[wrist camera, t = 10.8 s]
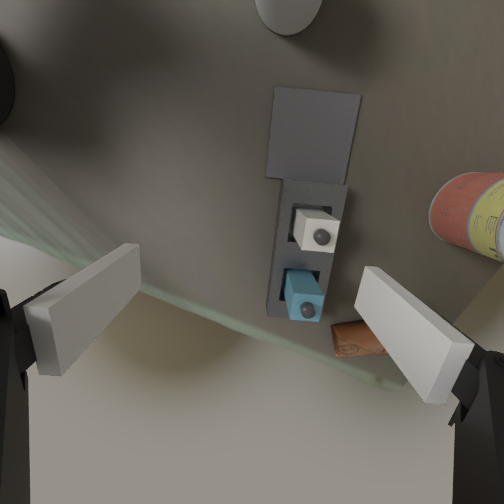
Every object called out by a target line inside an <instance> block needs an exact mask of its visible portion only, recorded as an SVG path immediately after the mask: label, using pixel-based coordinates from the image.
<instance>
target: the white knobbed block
mask: <svg viewBox="0 0 504 504" xmlns="http://www.w3.org/2000/svg"><path fill="white" fill-rule="evenodd" d="M339 224H340V221H339V220H338V219H336V218H334V217H333V216H331V215H329V214H327V213H326V212H324V211H322V210H321V209H315V208H304V207H294V213H293V220H292V227H291V232H292V234H293V236H294V238H295V239H296V241H297V243H298V245H299V246H300V248H301V250H308V251H319V252H330V253H334V249H335V244H336V239H337V234H338V229H339Z"/></svg>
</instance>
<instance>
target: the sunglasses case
mask: <svg viewBox="0 0 504 504" xmlns="http://www.w3.org/2000/svg"><path fill="white" fill-rule="evenodd" d="M331 331H332V337H333V343H334V349H335V353H336V355H335V356H336V357H356V356H365V355H373V354H378V355H383V354H389V353H388V352H387V351H386V349H385V348H384V347H383V345H382V344H381V343H380V341H379V340H378V338H377V337H376V336H375V334H374V333H373V332H372V330H371V329H370V328H369V326H368V325H367V323H366V322H365V321H364V320H362V321H356V322H349V323H341V324H335V325H331Z"/></svg>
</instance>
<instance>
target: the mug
mask: <svg viewBox="0 0 504 504" xmlns="http://www.w3.org/2000/svg"><path fill="white" fill-rule="evenodd" d="M255 3H256V7H257V11H258V13H259V16H260V18H261V19H262V21H263V22H264V24H265V25H266V26H267V27H268V28H269V29H270V30H272V31H273V32H275V33H278V34H281V35H292V34H296V33H298V32H300V31H302V30H303V29H305V28H306V27H307V26H308V25H309V24H310V23H311V22H312V21H313V19H314V18H315V16H316V14H317V13H318V10H319V8H320V6H321V3H322V0H255Z"/></svg>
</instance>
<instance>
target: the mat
mask: <svg viewBox="0 0 504 504" xmlns="http://www.w3.org/2000/svg"><path fill="white" fill-rule="evenodd" d="M360 99H361V95H358V94H348V93H338V92H328V91H318V90H308V89H298V88H287V87H277V86H275V89H274V99H273V109H272V118H271V128H270V138H269V148H268V157H267V167H266V177H270V178H281V179H291V180H302V181H312V182H323V183H333V184H344V179H345V174H346V169H347V164H348V159H349V154H350V149H351V144H352V139H353V134H354V129H355V124H356V119H357V114H358V109H359V104H360Z"/></svg>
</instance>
